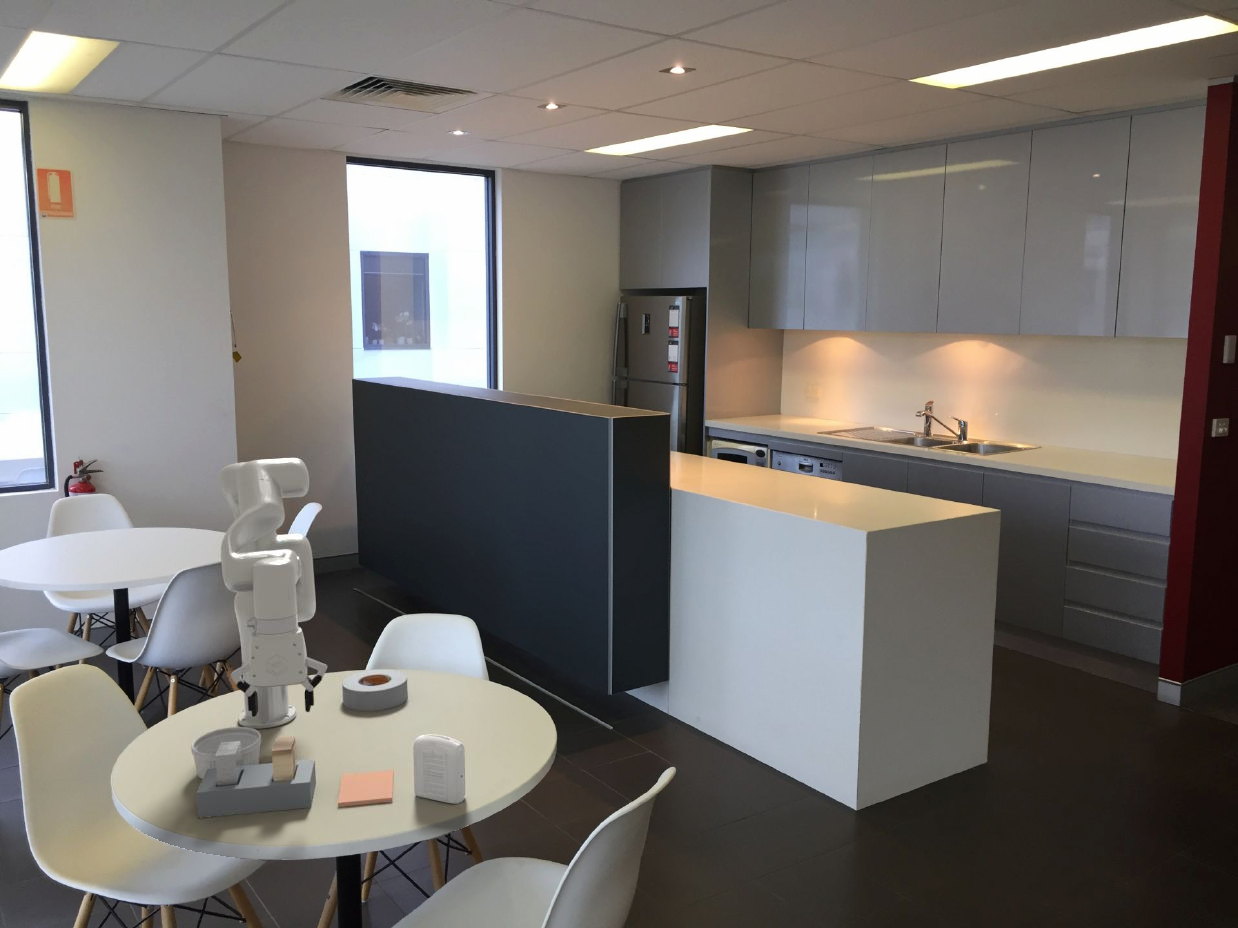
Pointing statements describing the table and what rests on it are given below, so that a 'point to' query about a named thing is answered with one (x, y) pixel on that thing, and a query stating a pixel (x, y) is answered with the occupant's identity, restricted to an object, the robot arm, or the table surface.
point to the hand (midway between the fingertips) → (281, 711)
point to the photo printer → (439, 768)
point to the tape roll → (374, 690)
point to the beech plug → (284, 759)
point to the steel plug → (229, 763)
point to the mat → (366, 788)
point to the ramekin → (210, 742)
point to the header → (257, 791)
